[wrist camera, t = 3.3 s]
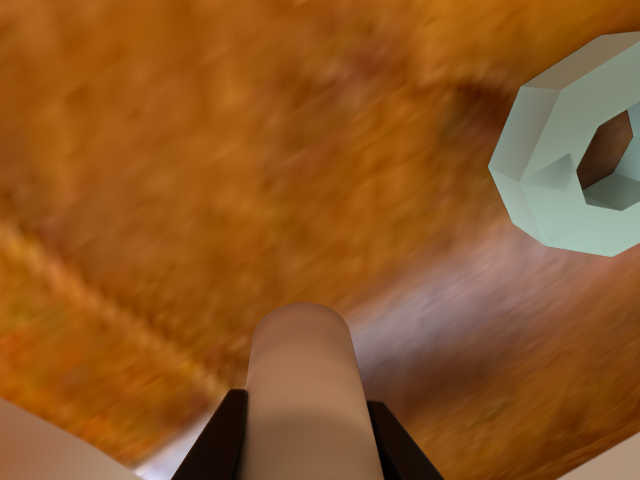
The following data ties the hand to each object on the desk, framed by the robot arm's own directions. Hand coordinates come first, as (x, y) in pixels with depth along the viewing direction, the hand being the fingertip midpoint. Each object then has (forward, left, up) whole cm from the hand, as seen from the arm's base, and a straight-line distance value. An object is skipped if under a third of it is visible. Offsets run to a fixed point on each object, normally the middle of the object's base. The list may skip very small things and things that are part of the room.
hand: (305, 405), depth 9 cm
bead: (+7, -15, -12) cm, 21 cm away
